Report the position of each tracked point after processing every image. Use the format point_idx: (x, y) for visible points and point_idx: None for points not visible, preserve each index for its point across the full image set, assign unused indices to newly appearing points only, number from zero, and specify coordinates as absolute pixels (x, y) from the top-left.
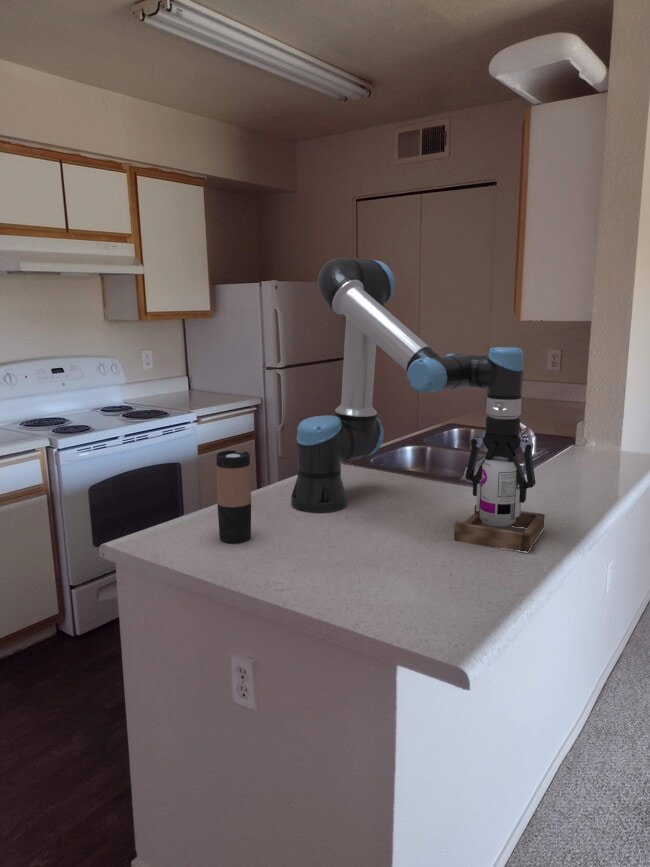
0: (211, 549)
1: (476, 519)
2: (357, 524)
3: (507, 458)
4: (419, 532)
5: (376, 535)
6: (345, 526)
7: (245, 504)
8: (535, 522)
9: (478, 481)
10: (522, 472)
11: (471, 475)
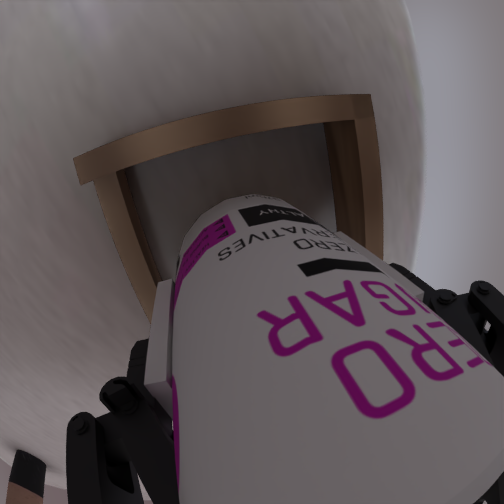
0: (54, 475)
1: (132, 220)
2: (9, 385)
3: (458, 494)
4: (87, 362)
5: (68, 409)
6: (15, 399)
7: (39, 497)
8: (374, 208)
9: (169, 425)
10: (486, 356)
11: (128, 461)
